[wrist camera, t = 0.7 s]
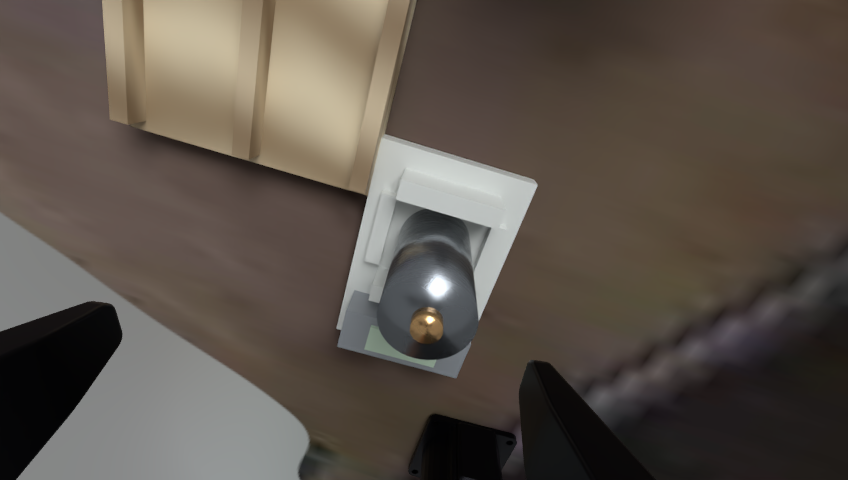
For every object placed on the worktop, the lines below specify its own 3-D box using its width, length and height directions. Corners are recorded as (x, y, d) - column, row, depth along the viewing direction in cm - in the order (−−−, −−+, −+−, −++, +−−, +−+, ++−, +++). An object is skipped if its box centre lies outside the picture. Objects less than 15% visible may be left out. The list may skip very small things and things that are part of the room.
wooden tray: (371, 188, 21) (362, 203, 19) (147, 122, 20) (110, 130, 18) (451, -146, 15) (451, -181, 13) (138, -258, 14) (81, -315, 12)
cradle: (460, 351, 25) (461, 389, 22) (340, 318, 25) (325, 353, 22) (533, 179, 20) (547, 199, 17) (384, 134, 20) (373, 146, 17)
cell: (456, 279, 22) (460, 381, 15) (391, 261, 21) (364, 355, 15) (479, 219, 20) (495, 302, 13) (409, 199, 20) (387, 272, 13)
